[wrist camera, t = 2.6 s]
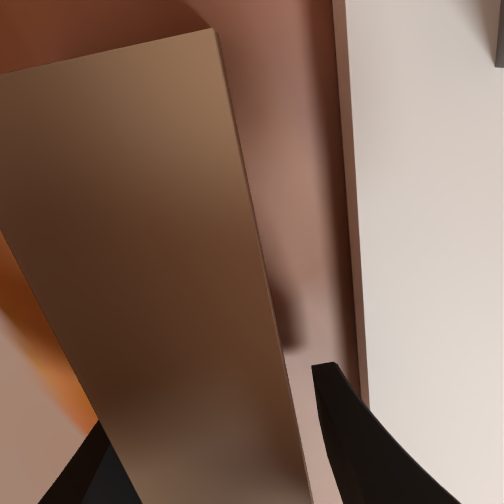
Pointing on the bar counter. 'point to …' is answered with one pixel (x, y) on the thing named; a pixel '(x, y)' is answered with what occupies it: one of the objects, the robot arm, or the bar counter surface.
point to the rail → (153, 266)
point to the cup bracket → (428, 227)
